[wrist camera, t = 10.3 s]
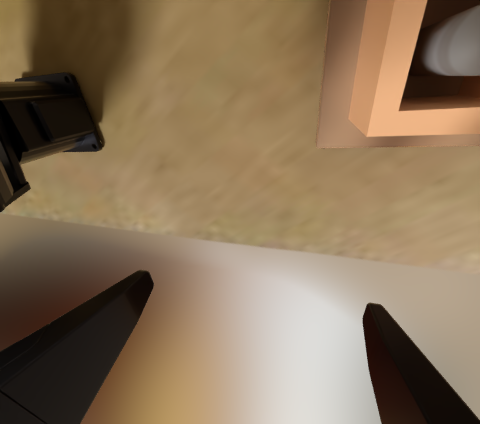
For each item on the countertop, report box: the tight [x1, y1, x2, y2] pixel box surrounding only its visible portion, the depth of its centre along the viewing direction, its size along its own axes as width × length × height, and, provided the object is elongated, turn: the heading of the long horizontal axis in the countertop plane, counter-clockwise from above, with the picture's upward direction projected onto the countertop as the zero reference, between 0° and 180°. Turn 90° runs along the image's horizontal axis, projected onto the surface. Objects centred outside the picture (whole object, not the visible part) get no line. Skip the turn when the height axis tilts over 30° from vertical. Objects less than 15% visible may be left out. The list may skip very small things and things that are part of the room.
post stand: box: [316, 0, 480, 148], centre depth 10 cm, size 10×10×6 cm
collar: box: [348, 0, 480, 137], centre depth 10 cm, size 6×6×5 cm
